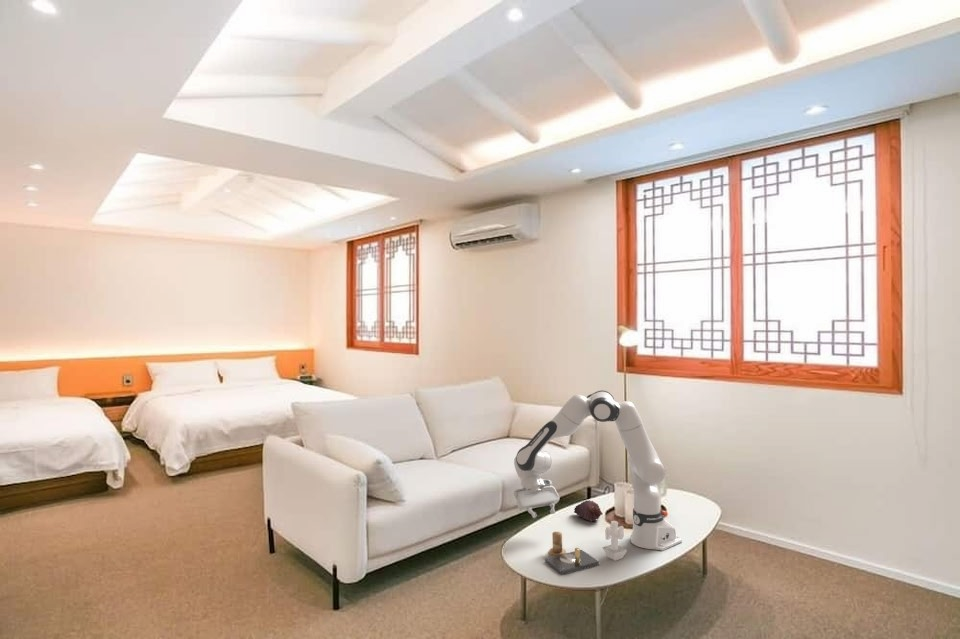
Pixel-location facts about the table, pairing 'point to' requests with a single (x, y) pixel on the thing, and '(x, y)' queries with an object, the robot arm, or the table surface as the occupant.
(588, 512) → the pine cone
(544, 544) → the table surface
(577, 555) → the dowel
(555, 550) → the flange hub
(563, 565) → the base plate
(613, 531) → the figurine
